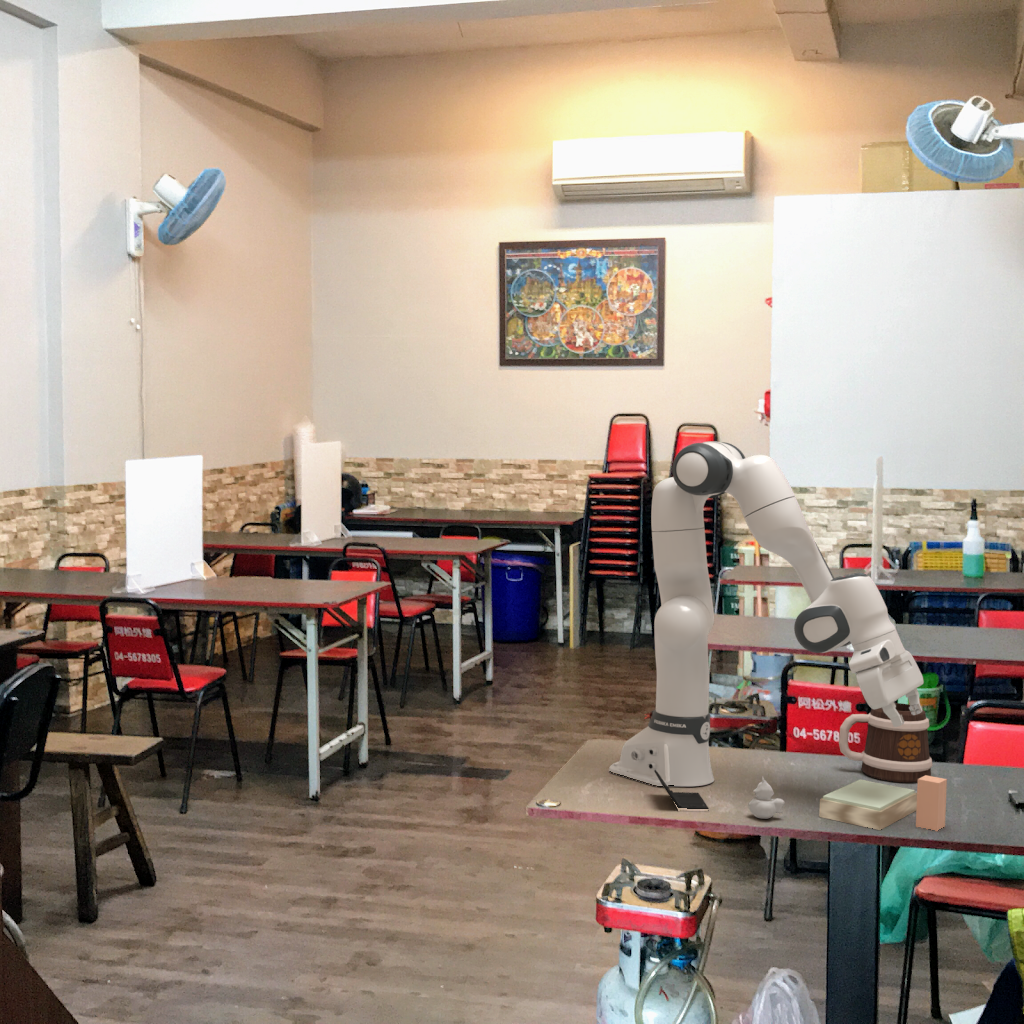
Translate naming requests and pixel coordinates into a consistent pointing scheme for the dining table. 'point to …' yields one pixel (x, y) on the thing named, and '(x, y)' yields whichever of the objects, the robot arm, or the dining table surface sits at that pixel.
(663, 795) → the dining table surface
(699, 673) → the robot arm
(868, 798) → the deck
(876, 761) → the mug
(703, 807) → the handheld gaming console
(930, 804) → the terracotta block
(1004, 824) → the dining table surface
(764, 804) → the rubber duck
